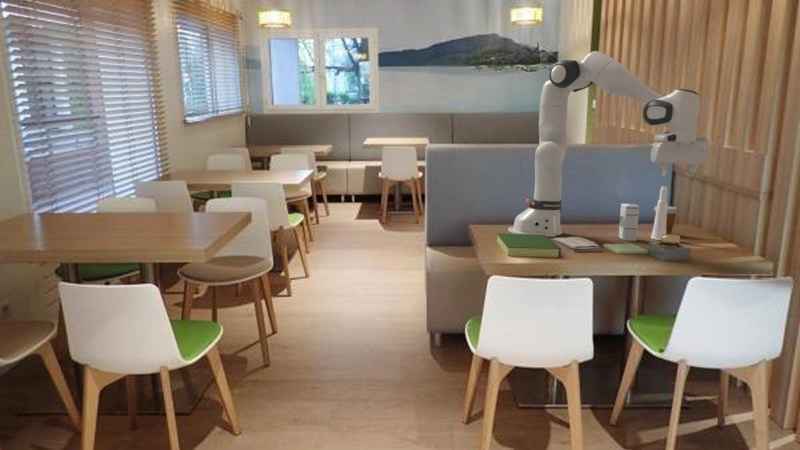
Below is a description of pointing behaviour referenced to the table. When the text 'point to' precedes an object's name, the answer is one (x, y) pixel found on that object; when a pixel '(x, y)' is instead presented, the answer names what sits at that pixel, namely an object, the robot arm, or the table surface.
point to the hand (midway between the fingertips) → (677, 176)
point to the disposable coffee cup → (669, 218)
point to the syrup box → (628, 222)
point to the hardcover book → (528, 245)
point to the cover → (670, 240)
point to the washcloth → (577, 244)
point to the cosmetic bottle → (660, 215)
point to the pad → (626, 248)
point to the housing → (669, 252)
